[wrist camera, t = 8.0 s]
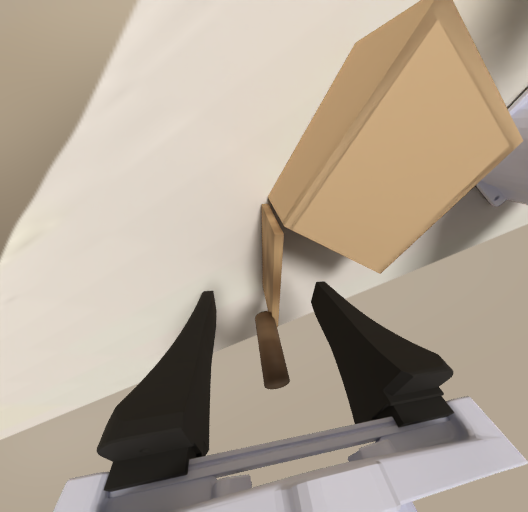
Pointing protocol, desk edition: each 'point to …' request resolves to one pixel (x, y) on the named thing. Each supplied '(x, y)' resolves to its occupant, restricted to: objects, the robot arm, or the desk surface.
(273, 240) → the wooden paddle
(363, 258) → the carton
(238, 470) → the robot arm
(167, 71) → the desk surface
